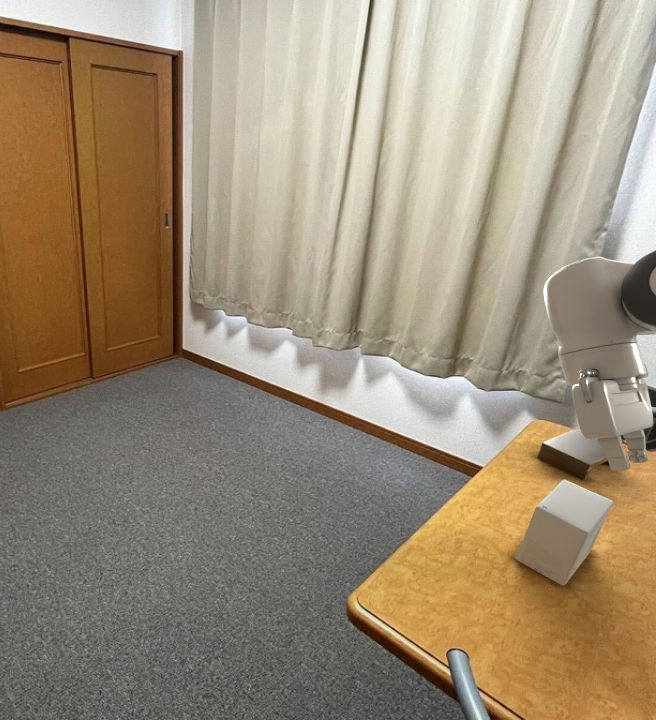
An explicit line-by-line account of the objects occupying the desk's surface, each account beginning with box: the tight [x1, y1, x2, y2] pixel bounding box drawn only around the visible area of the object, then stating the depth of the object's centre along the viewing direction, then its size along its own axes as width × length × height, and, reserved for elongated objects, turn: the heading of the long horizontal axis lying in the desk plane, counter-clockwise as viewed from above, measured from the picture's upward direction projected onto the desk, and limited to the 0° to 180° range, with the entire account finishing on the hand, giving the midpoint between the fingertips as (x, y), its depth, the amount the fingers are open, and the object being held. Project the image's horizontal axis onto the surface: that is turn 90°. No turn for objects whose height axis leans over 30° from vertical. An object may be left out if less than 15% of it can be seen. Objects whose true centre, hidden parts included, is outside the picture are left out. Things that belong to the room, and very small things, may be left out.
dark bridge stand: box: [537, 428, 609, 481], centre depth 91 cm, size 8×11×4 cm
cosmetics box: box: [514, 479, 614, 587], centre depth 69 cm, size 10×6×10 cm, turn 126°
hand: (630, 466), depth 66 cm, fingers open, 8 cm apart
